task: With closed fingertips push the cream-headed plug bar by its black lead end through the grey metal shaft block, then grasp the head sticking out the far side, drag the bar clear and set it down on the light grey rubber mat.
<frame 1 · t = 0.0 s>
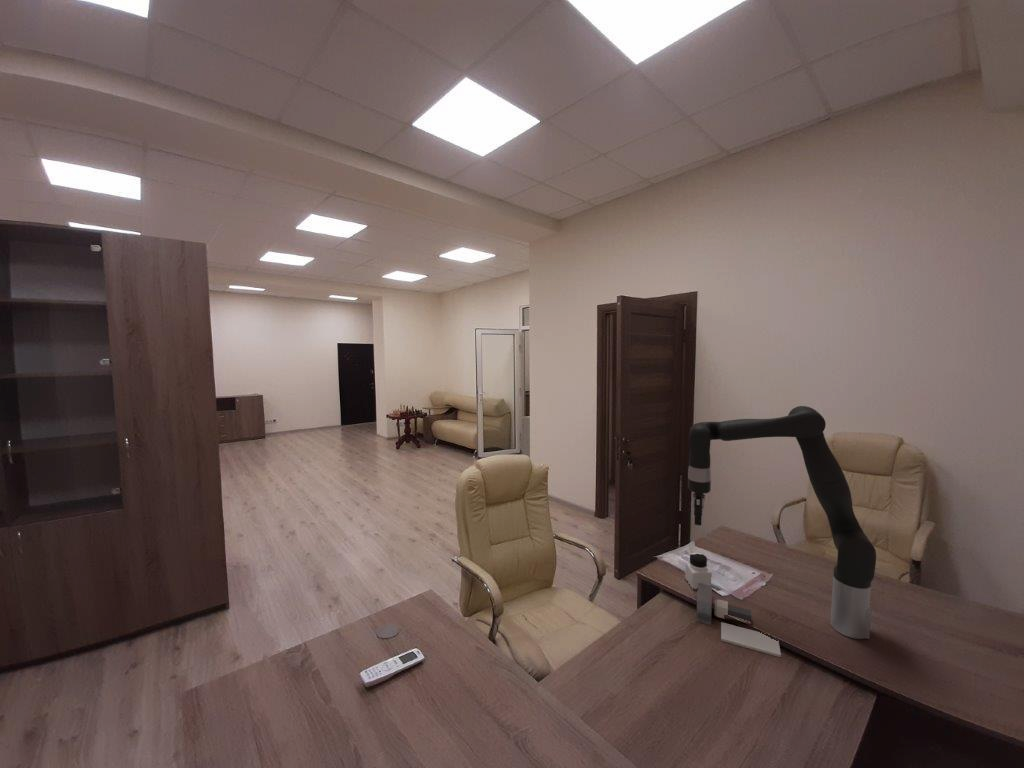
hand: (698, 519, 147), 29 cm above the table, fingers open, 8 cm apart
shaft block: (704, 609, 142), on the table
plug bar: (732, 617, 138), on the table
mat: (749, 639, 127), on the table
medicine bottle: (697, 584, 156), on the table
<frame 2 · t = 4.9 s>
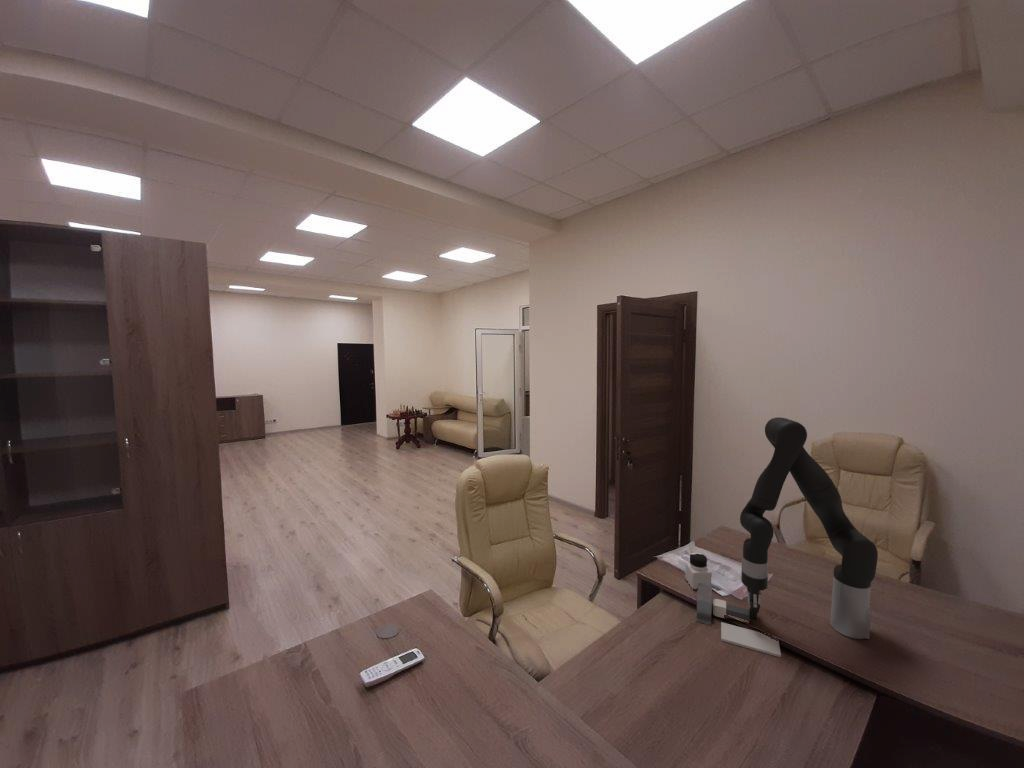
hand: (752, 618, 135), 1 cm above the table, fingers closed
plug bar: (730, 616, 138), on the table, touching gripper
everything else where it was.
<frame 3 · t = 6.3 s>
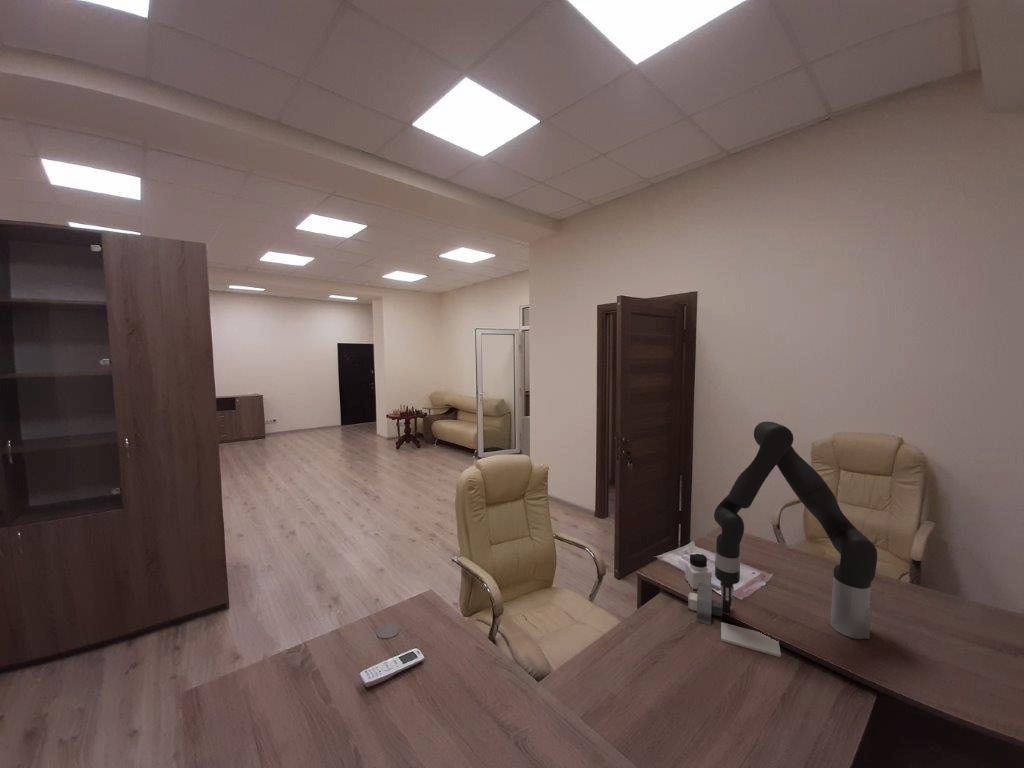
hand: (726, 612, 138), 1 cm above the table, fingers closed
plug bar: (705, 609, 142), on the table, touching gripper
everything else where it was.
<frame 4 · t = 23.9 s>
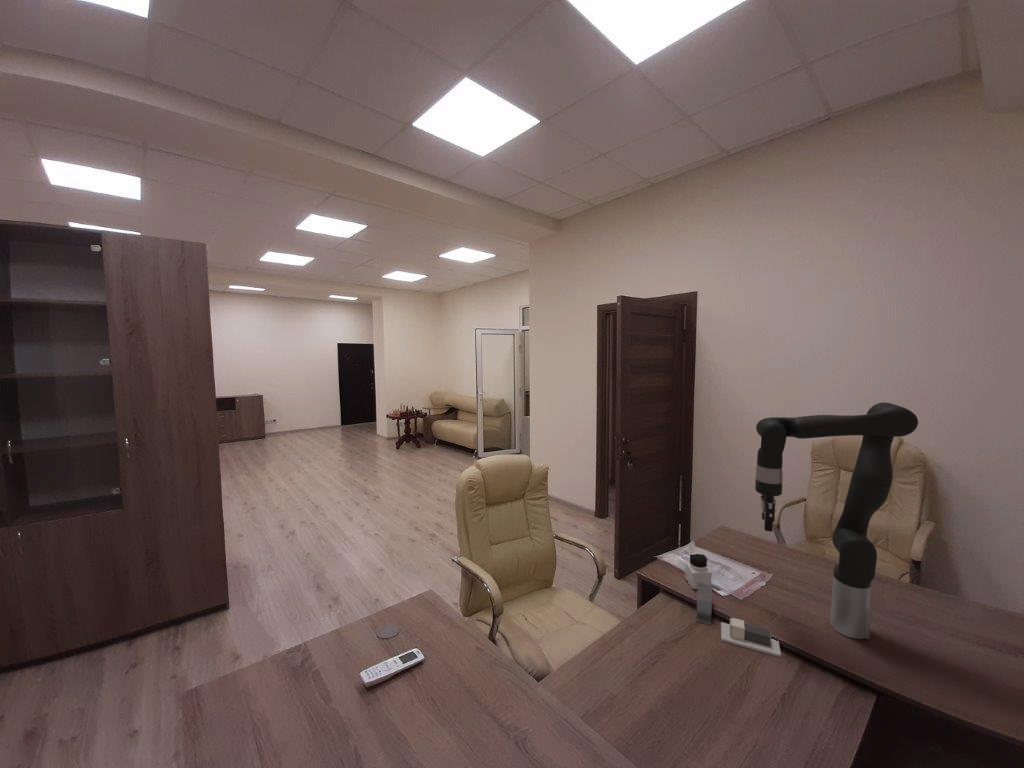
hand: (766, 525, 134), 33 cm above the table, fingers open, 8 cm apart
plug bar: (749, 637, 127), point 1 cm above the table, touching mat
everything else where it was.
at the end: plug bar inside the target area on the mat (0.0 cm from its centre), point 0.8 cm above the mat's base; the gripper is holding nothing; plug bar touching mat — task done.
